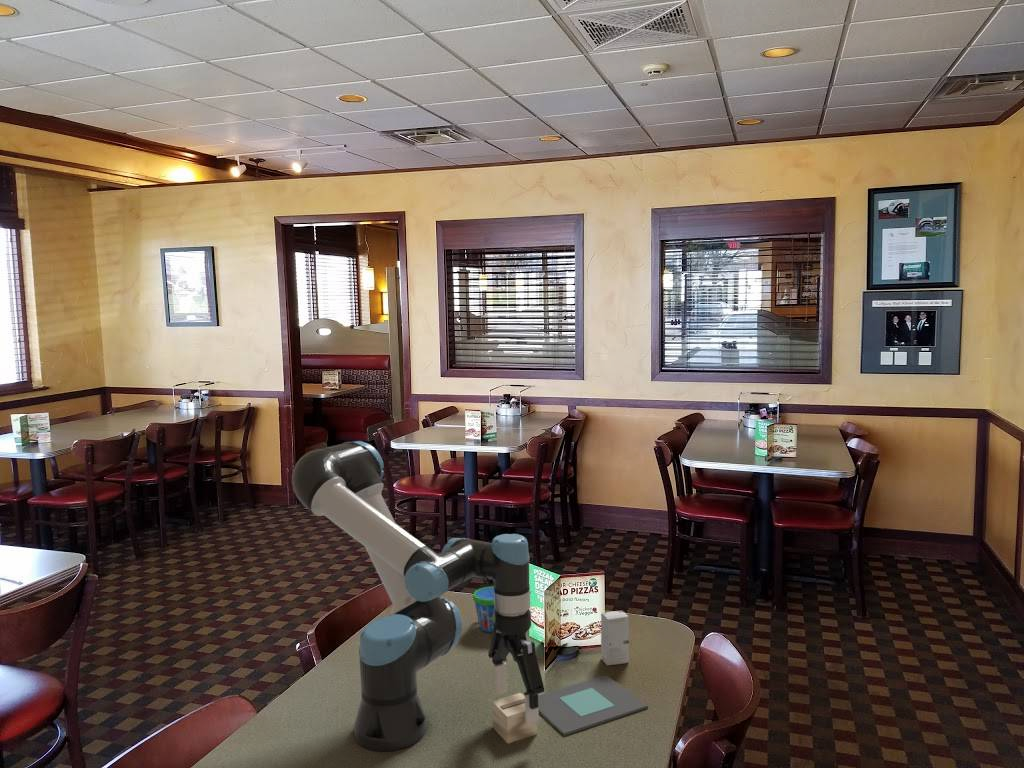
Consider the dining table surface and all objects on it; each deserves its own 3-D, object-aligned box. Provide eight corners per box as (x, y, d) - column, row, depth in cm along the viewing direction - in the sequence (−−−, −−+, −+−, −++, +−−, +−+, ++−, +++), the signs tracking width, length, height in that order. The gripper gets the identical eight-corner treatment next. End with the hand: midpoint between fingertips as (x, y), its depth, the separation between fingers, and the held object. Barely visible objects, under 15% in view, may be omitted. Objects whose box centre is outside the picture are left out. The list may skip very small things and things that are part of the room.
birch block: (507, 744, 154) (507, 715, 153) (492, 727, 160) (491, 700, 160) (537, 734, 157) (536, 706, 157) (521, 718, 163) (520, 691, 163)
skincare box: (607, 666, 186) (607, 619, 185) (600, 658, 191) (600, 612, 189) (629, 662, 188) (629, 616, 187) (622, 654, 192) (622, 609, 191)
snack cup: (469, 618, 216) (468, 584, 215) (505, 614, 219) (504, 581, 217) (479, 642, 201) (478, 605, 200) (517, 637, 203) (516, 601, 202)
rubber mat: (564, 736, 156) (564, 732, 156) (526, 701, 170) (526, 698, 170) (647, 707, 167) (647, 705, 167) (606, 677, 181) (606, 674, 181)
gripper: (559, 626, 147) (562, 729, 149) (501, 587, 169) (504, 678, 171) (526, 635, 143) (529, 740, 145) (471, 594, 165) (474, 686, 167)
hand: (516, 707), depth 158 cm, fingers open, 13 cm apart
